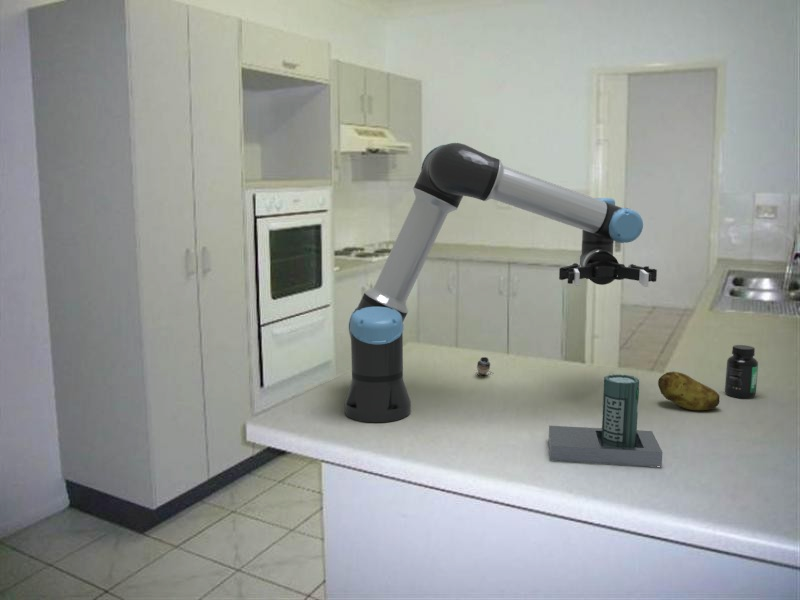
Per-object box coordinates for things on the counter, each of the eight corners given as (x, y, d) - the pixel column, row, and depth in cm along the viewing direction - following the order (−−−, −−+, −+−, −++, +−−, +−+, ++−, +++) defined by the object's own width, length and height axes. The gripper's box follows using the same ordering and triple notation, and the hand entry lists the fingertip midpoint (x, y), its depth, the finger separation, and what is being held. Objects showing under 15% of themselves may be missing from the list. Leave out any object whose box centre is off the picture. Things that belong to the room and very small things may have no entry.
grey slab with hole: (550, 460, 132) (550, 445, 131) (548, 439, 143) (549, 425, 142) (661, 467, 128) (662, 452, 128) (651, 445, 139) (652, 431, 139)
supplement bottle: (761, 399, 167) (765, 350, 165) (732, 399, 168) (736, 350, 165) (747, 390, 174) (751, 343, 172) (719, 390, 174) (723, 343, 172)
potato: (710, 418, 155) (713, 383, 153) (652, 406, 163) (654, 373, 161) (721, 408, 161) (724, 374, 160) (665, 397, 169) (667, 365, 168)
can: (639, 453, 135) (644, 378, 133) (625, 462, 131) (629, 385, 128) (610, 445, 139) (614, 372, 137) (595, 454, 135) (599, 379, 132)
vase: (494, 380, 185) (492, 358, 184) (473, 381, 186) (472, 359, 185) (494, 374, 190) (493, 353, 189) (474, 375, 191) (473, 354, 190)
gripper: (655, 283, 162) (674, 299, 142) (546, 281, 166) (549, 296, 146) (657, 251, 161) (677, 262, 140) (547, 250, 165) (550, 260, 145)
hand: (611, 279), depth 143 cm, fingers open, 13 cm apart
